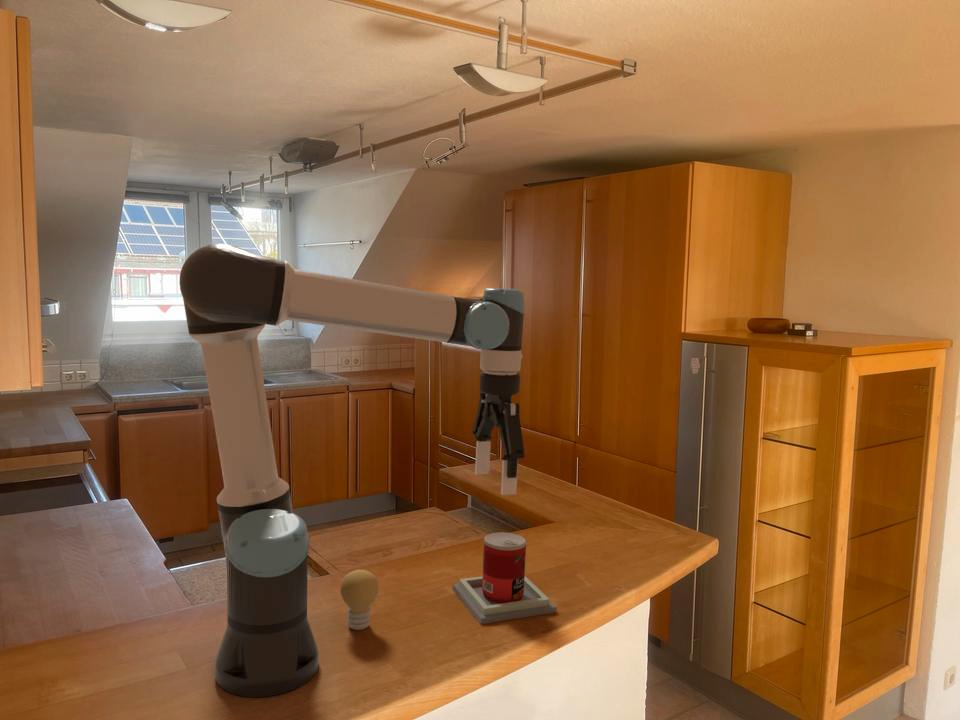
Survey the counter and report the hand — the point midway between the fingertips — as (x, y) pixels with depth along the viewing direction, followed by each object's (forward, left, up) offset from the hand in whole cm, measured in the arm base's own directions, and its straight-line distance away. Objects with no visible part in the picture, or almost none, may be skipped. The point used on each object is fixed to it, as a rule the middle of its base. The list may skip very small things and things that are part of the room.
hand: (494, 483), depth 135 cm
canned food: (+2, -2, -21) cm, 22 cm away
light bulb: (-26, -4, -22) cm, 35 cm away
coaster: (+2, -2, -22) cm, 22 cm away
